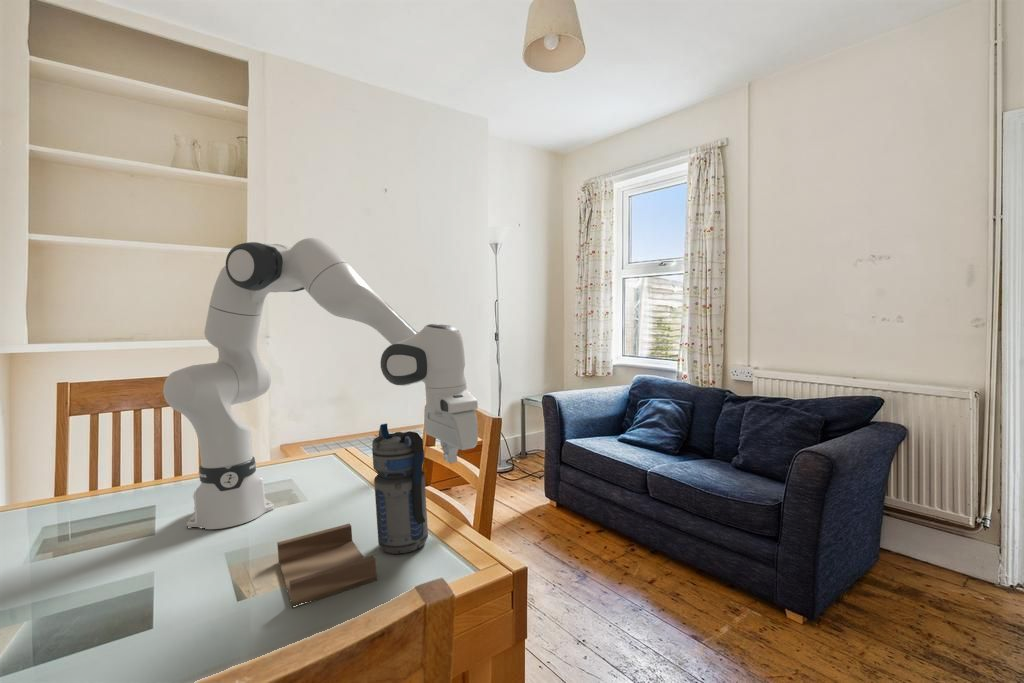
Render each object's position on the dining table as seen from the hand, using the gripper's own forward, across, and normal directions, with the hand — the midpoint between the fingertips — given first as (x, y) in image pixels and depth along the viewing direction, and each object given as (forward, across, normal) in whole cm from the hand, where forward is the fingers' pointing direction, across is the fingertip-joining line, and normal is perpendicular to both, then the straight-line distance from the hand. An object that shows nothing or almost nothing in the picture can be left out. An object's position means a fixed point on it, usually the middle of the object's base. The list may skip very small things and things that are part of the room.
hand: (450, 461), depth 104 cm
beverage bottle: (+16, 0, -11) cm, 19 cm away
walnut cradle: (+15, 0, -27) cm, 31 cm away
